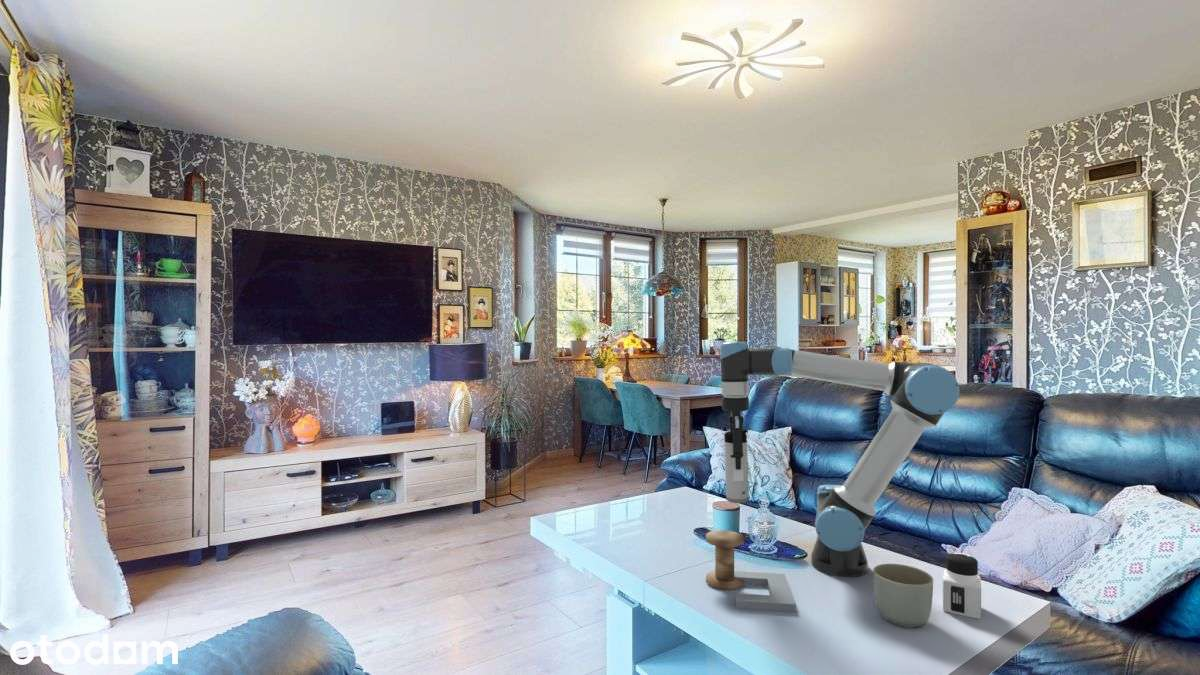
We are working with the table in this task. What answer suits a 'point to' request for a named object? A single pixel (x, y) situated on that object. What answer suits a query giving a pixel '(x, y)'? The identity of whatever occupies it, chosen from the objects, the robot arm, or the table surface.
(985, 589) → the table surface
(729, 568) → the bobbin
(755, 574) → the notched board
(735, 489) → the travel mug
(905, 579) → the planter
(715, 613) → the table surface
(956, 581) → the container
